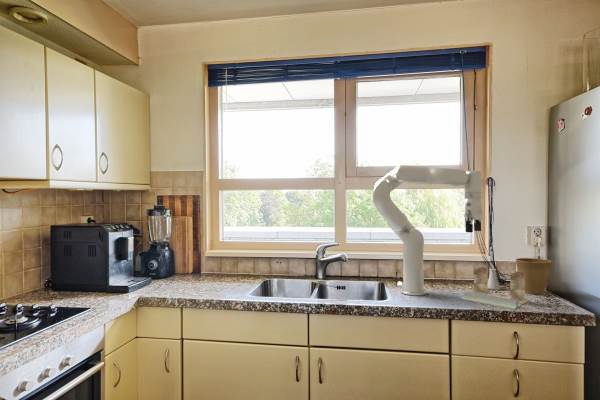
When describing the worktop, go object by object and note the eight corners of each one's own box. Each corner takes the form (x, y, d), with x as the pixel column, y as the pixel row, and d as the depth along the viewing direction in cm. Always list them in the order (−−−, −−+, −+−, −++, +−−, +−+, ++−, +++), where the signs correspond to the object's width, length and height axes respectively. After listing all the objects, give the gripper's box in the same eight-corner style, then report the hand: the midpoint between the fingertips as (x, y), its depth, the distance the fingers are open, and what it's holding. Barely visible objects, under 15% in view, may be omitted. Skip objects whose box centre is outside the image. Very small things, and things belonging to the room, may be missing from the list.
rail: (463, 297, 173) (463, 290, 173) (466, 295, 175) (466, 289, 175) (516, 306, 157) (516, 300, 157) (518, 305, 159) (518, 298, 159)
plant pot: (559, 294, 178) (559, 261, 178) (537, 297, 173) (536, 263, 172) (530, 287, 192) (530, 256, 192) (508, 290, 186) (508, 258, 186)
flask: (502, 290, 187) (502, 270, 187) (487, 289, 188) (487, 270, 188) (498, 287, 194) (498, 268, 194) (483, 286, 196) (483, 267, 196)
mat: (461, 299, 171) (461, 298, 171) (469, 296, 177) (469, 294, 177) (514, 309, 155) (514, 308, 155) (520, 305, 161) (520, 304, 161)
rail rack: (471, 295, 178) (470, 268, 178) (477, 292, 184) (477, 266, 184) (522, 304, 162) (522, 274, 162) (528, 301, 167) (528, 272, 167)
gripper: (473, 196, 172) (473, 233, 172) (488, 196, 184) (488, 230, 184) (457, 196, 177) (457, 232, 177) (472, 196, 189) (473, 230, 189)
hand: (473, 231), depth 180 cm, fingers open, 9 cm apart
